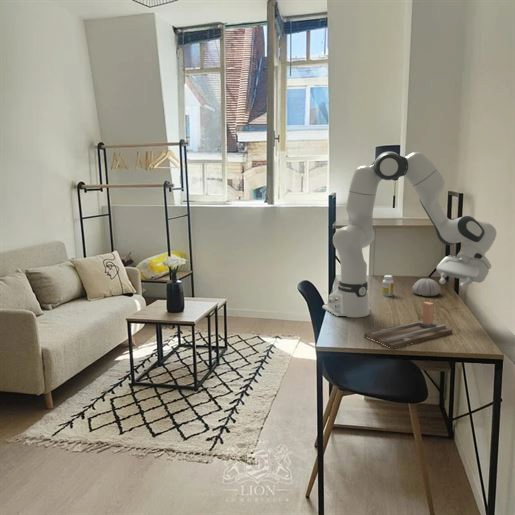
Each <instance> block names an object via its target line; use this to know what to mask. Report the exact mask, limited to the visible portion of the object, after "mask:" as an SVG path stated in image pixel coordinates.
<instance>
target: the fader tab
mask: <svg viewBox="0 0 515 515" xmlns="http://www.w3.org/2000/svg"><path fill="white" fill-rule="evenodd" d="M434 306H435V303H434V302H430V301H424V302H422V319H421V320H422V322H419V326H422V327H425V328H432V327H436V325H438V324H437V323H436V322H435V323H434V310H435V309H434V308H435V307H434Z"/></svg>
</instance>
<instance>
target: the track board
mask: <svg viewBox="0 0 515 515" xmlns="http://www.w3.org/2000/svg"><path fill="white" fill-rule="evenodd" d="M422 320H423V319H421V320H416V321H412V322H408V323H404V324H399V325H396V326H395V325H394V326H391V327H388V328H383V329H378V330H374V331H369V332H365V333H364V334H363V335H364V336H365V337H368V338H370V339H373V340H375V341H378V342H380V343H382V344H384V345H386V346H388V347H390V348H394V349H396V348H395V347H398V348H400V347H399V346H402V347H404V346H403V345H406V346H408V345H407V344H409V345H412V344H411V343H413V344H416V343H415V342H417V343H420V342H419V341H421V342H424V341H423V340H425V341H427V340H426V339H428V340H432V339H436V338H440V337H443V335H444V336H447V335H446V334H448V335H450V334H453V329H452V328H449V327H447V326H446V324H437V325H436V327H432V328H425V327H422V326H419V322H422ZM364 336H363V337H364ZM439 336H440V337H439ZM365 337H364V338H365ZM435 337H436V338H435ZM431 338H432V339H431ZM386 346H385V347H386ZM388 347H387V348H388ZM390 348H389V349H390Z"/></svg>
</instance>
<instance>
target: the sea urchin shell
mask: <svg viewBox="0 0 515 515" xmlns="http://www.w3.org/2000/svg"><path fill="white" fill-rule="evenodd" d="M411 290H412V293H414V294H415V295H418V296H421V295H422V296H423V297H434V296H437V295H438V294H439V293H441V290H442V289H441V286H440V284H439V283H438V282H437V281H436V280H434V279H432V278H428V277H427V278H425V277H424V278H420V279H418V280H417V281H416V282H415V283H413V286H412V288H411ZM439 295H440V294H439Z"/></svg>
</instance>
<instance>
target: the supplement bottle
mask: <svg viewBox="0 0 515 515" xmlns="http://www.w3.org/2000/svg"><path fill="white" fill-rule="evenodd" d="M394 285H395V284H394V280H393V275H389V274H386V275H384V276H383V280H382V286H381V287H382V288H381V290H382V292H381V294H382V296H384V297H391V296H394Z"/></svg>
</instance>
